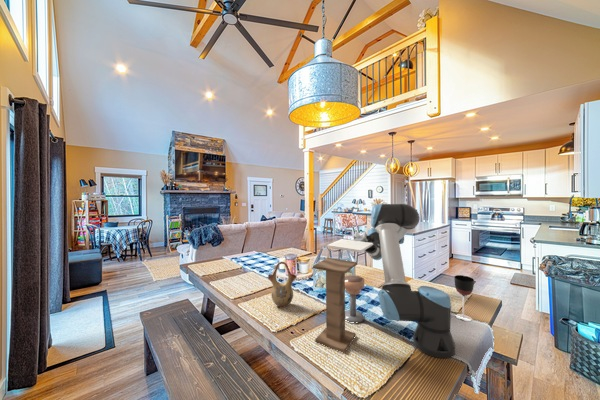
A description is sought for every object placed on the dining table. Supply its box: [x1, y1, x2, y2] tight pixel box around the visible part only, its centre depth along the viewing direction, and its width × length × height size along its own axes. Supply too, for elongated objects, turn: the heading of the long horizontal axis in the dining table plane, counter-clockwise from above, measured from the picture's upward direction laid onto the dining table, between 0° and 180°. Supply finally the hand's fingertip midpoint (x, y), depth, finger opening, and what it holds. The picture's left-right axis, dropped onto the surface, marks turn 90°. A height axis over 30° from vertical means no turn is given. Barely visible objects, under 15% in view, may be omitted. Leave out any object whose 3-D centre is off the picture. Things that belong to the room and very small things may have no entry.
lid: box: [326, 234, 373, 253], centre depth 124 cm, size 30×17×2 cm, turn 146°
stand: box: [312, 257, 358, 354], centre depth 103 cm, size 14×14×33 cm
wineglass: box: [453, 274, 475, 320], centre depth 120 cm, size 8×9×20 cm
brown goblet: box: [345, 274, 365, 323], centre depth 121 cm, size 11×11×20 cm
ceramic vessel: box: [267, 261, 298, 308], centre depth 135 cm, size 16×9×25 cm, turn 91°
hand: (359, 234), depth 128 cm, fingers closed on lid, 4 cm apart
